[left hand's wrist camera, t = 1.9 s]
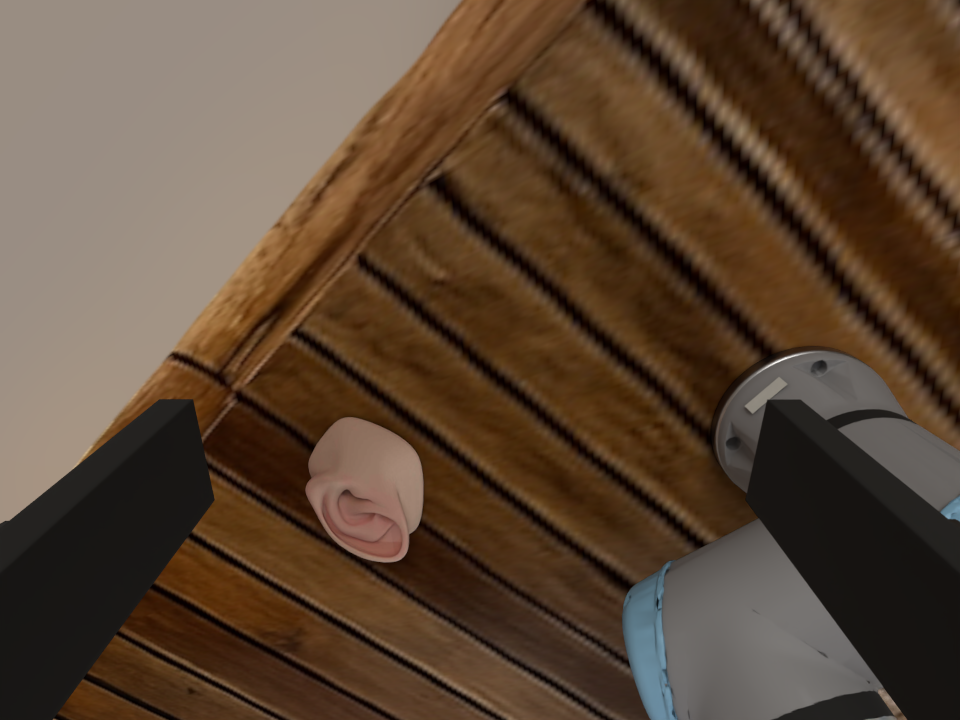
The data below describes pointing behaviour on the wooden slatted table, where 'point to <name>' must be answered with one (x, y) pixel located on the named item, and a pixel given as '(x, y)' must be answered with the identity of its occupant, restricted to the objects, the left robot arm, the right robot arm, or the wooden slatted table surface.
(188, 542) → the wooden slatted table surface
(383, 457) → the anatomical model
